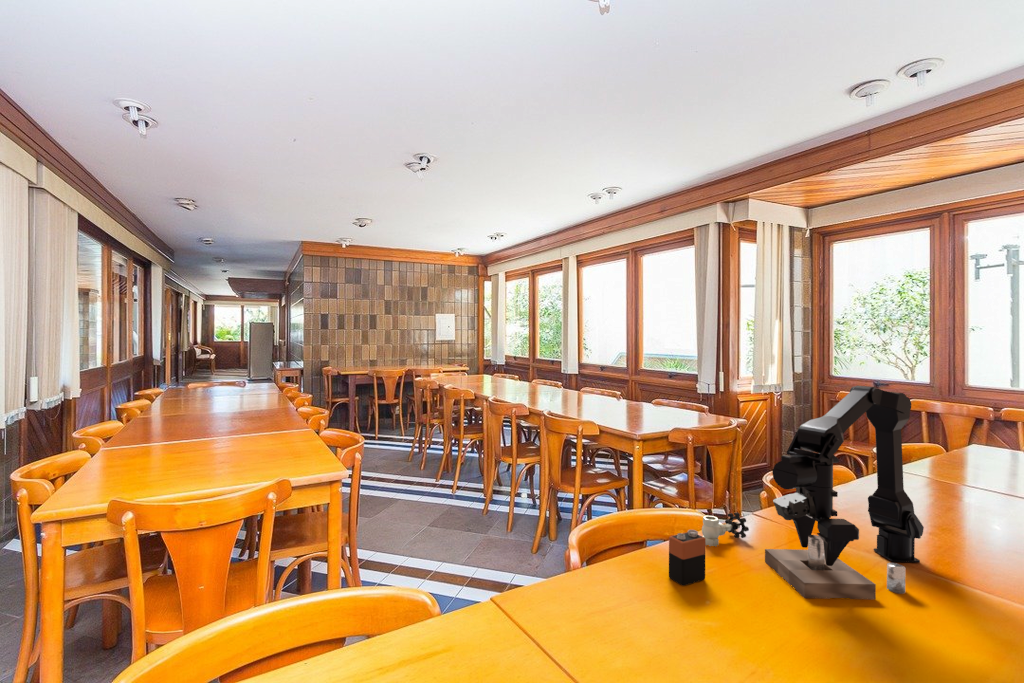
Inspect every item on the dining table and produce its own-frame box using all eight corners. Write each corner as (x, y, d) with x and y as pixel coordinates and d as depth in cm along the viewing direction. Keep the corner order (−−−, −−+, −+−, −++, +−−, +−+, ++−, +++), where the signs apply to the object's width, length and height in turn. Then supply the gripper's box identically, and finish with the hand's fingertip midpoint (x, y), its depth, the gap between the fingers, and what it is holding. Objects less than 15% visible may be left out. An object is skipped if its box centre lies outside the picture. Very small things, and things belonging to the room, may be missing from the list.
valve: (715, 550, 121) (748, 542, 126) (715, 523, 121) (749, 516, 126) (694, 540, 127) (727, 533, 132) (694, 515, 127) (727, 508, 132)
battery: (706, 580, 105) (706, 533, 105) (682, 587, 102) (683, 539, 102) (690, 571, 109) (691, 526, 109) (667, 578, 106) (667, 531, 106)
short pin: (897, 586, 103) (898, 562, 103) (908, 593, 100) (909, 569, 100) (883, 586, 104) (883, 562, 103) (894, 593, 101) (894, 569, 100)
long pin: (818, 576, 108) (819, 535, 108) (827, 582, 105) (827, 540, 105) (804, 575, 108) (805, 534, 108) (813, 582, 105) (813, 540, 105)
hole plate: (825, 563, 114) (826, 550, 114) (875, 599, 98) (875, 584, 98) (764, 561, 114) (765, 549, 114) (804, 597, 98) (804, 582, 98)
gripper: (758, 471, 116) (757, 538, 116) (804, 497, 97) (803, 576, 97) (806, 472, 115) (805, 538, 116) (861, 497, 97) (860, 577, 97)
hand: (816, 556), depth 106 cm, fingers open, 9 cm apart
